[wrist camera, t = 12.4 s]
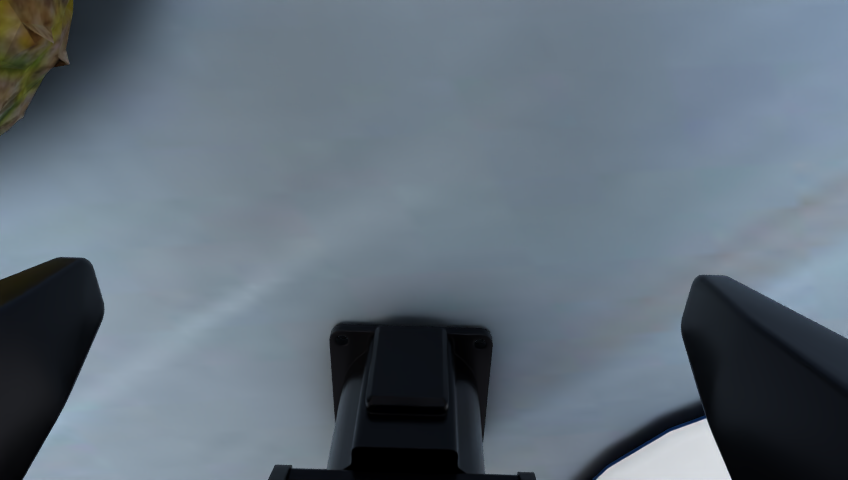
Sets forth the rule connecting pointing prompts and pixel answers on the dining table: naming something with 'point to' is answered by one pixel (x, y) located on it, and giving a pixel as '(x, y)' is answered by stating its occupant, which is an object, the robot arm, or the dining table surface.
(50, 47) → the fruit
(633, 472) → the plate
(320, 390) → the dining table surface
